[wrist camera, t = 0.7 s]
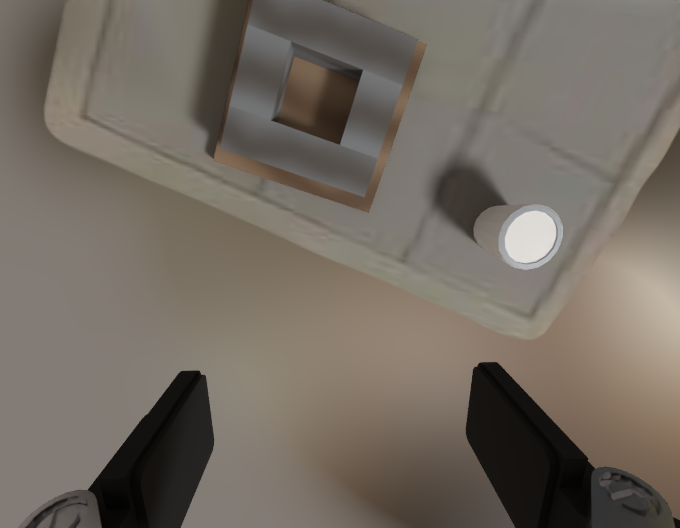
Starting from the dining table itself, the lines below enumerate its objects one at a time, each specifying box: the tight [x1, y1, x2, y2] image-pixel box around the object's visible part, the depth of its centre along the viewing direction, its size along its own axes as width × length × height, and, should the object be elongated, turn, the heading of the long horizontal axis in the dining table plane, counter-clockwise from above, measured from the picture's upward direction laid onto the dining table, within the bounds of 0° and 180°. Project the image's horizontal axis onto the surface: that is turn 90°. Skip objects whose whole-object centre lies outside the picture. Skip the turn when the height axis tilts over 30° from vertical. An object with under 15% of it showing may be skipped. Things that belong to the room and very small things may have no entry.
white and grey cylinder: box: [473, 204, 563, 270], centre depth 36 cm, size 7×7×7 cm
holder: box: [213, 0, 427, 213], centre depth 32 cm, size 18×18×5 cm
